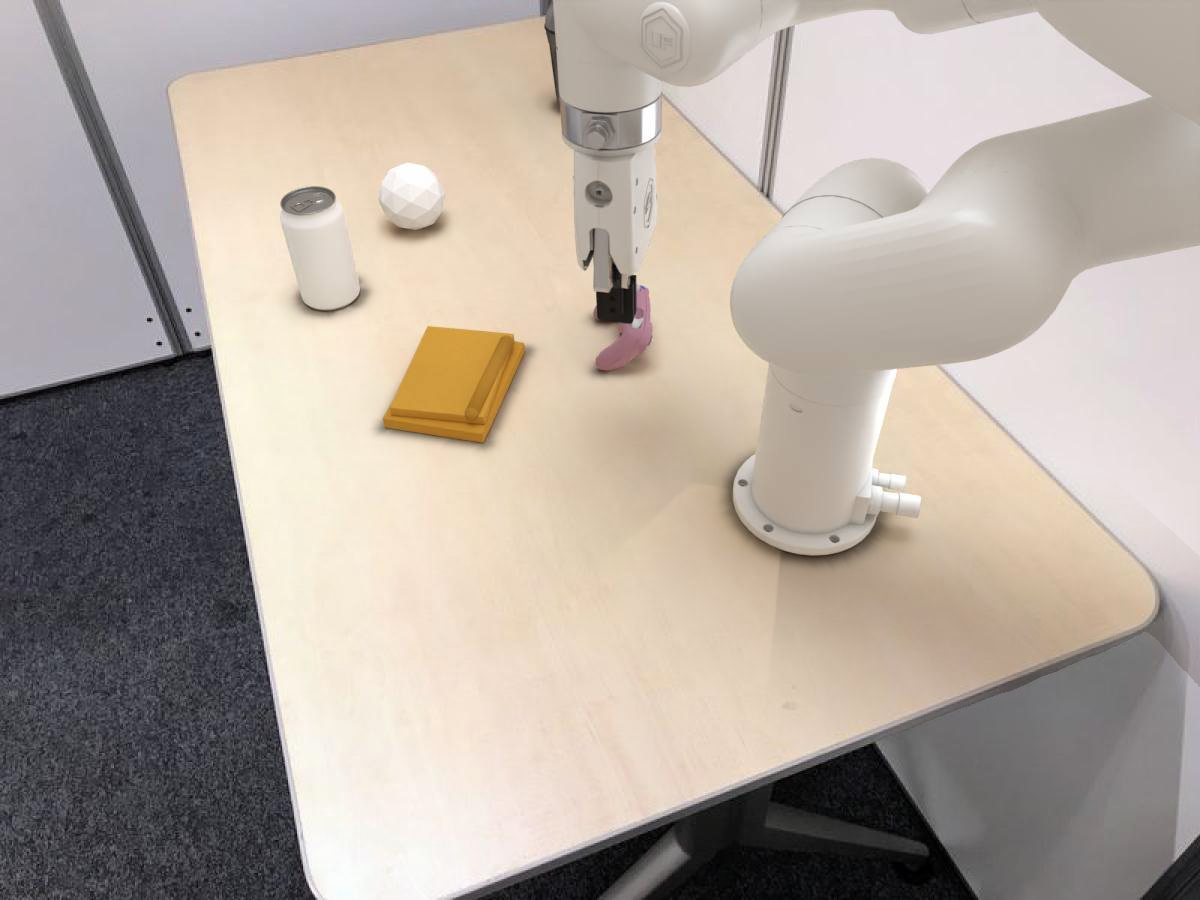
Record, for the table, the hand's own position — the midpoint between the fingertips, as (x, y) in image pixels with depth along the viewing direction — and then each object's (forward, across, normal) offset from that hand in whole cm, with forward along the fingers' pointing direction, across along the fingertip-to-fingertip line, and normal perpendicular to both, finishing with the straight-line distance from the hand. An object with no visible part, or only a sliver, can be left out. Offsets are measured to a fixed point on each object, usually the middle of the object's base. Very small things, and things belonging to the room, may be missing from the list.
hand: (617, 316), depth 84 cm
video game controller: (+12, +12, +2) cm, 17 cm away
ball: (+12, +29, +32) cm, 45 cm away
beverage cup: (+11, +64, +21) cm, 69 cm away
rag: (+12, +1, +17) cm, 21 cm away
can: (+12, +13, +36) cm, 40 cm away
